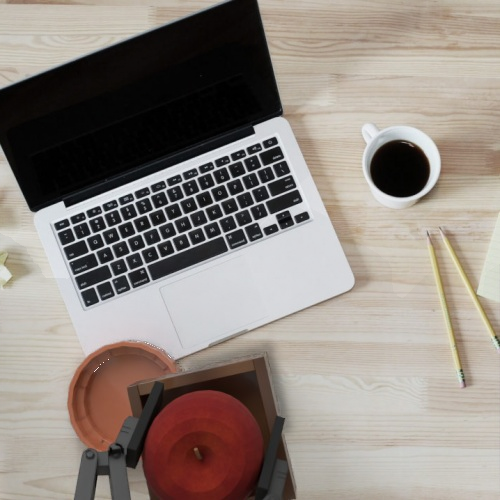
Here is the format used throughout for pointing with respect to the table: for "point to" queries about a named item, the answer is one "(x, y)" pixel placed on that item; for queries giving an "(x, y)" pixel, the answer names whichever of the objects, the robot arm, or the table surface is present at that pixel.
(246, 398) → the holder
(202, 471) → the apple
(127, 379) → the bowl
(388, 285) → the table surface
